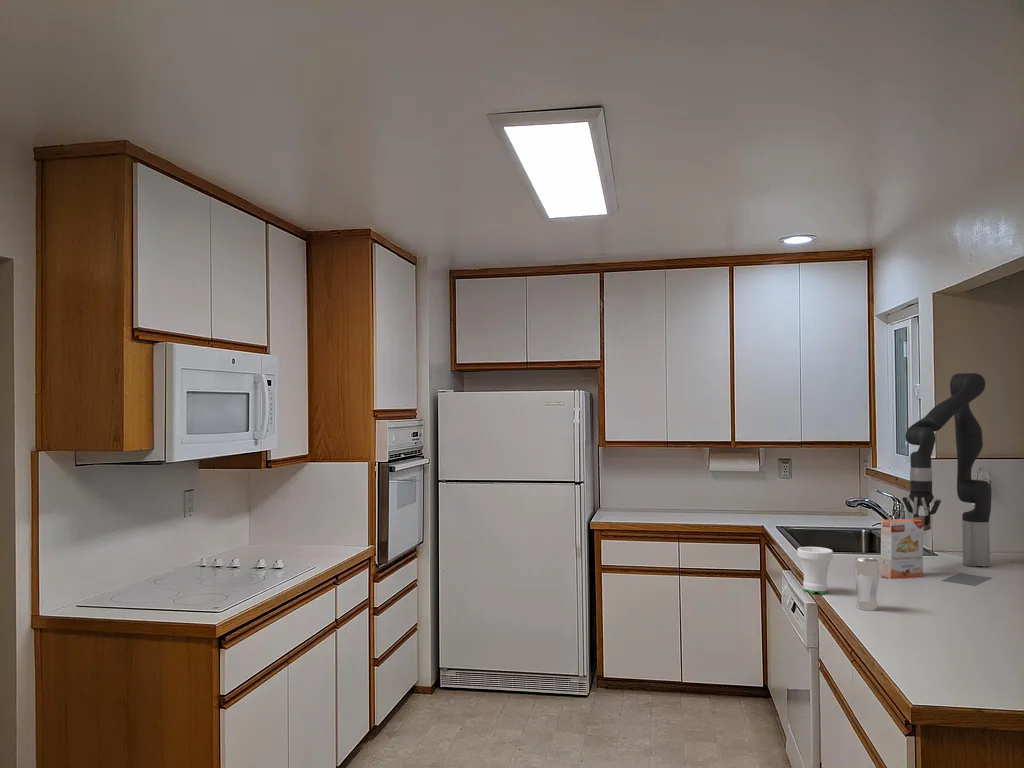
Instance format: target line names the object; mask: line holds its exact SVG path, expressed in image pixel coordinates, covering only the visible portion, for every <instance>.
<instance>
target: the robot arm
mask: <svg viewBox="0 0 1024 768" xmlns="http://www.w3.org/2000/svg"><path fill="white" fill-rule="evenodd" d="M985 388H986V380H985V377H984V376H983V375H982V374H980V373H976V372H975V373H974V372H960V373H955V374H953V375H952V376H951V379H950V382H949V389H950V397H949V398H946V399H945V400H943V401H941V402H940V403H938V404H936V405H935V406H934V407H933V408H932V409H931V410H930V411H929V412H928V413H927V414H926V415H925V416H924V417H922V418H921V419H919V420H918V421H916V422H915V423H913V424H912V425H910V426H909V427H908V428H907V430H906V431H905V436H904V438H905V441H906V442H907V443H908V444H910V445H912V446H918V449H917V450H916V451H913V452H911V453H910V470H909V489H910V492H909V495H908V496H904V497H902V501H903V504H904V506H905V508H906V510H907V512H908V513H910V514H912V515H913V517H912V519H913V518H915V517H919V516H920V514H919V510H920V508H921V507H922V508H923V511H924V516H925V525H927V526H928V525H929V524H930V516H931V517H932V515H936V513H937V512H938V509H939V507H940V505H941V503H942V500H941V499H937V498H936V497H935V496H934V494H933V471H932V455H933V452H934V451H933V450H934V448H935V445H936V433H935V432H938V431H940V430H941V429H942V428H943V427H944V426H945V425H946V424H947V423H948V422H949V421H950V419H951V418H952V417H953V418H954V426H955V427H954V429H955V447H956V461H957V463H956V464H957V466H956V467H957V471H956V473H957V475H956V494H957V497H958V500H959V501H961V502H962V503H968V504H974V508H973V509H971V510H969V511H965V512H963V513H962V516H961V517H962V518H961V519H962V520H961V522H962V526H961V528H962V565H965V566H969V567H976V566H983V567H982V568H985V567H986V566H988V567H991V561H990V559H991V557H990V555H991V553H990V551H991V549H990V548H991V547H990V539H991V538H990V516H991V512H992V487H991V485H990V483H989V482H988V481H986V480H980V479H972V470H973V469H972V468H973V466H974V463H975V461H976V460H977V459H978V456H979V455H980V454H981V451H983V446H984V441H983V439H984V438H983V430H982V427H981V425H980V422H979V421H978V420H977V418H976V417H975V414H973V412H972V410H971V408H970V407H971V406H970V403H971V402H973V400H975V399H977V398H978V397H979V396H981V394H982V393H983V392H984V390H985ZM911 502H912V503H913V505H912V504H911ZM931 503H932V504H933V505H932V507H931V505H930V504H931ZM986 568H987V567H986Z"/></svg>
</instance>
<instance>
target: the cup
mask: <svg viewBox="0 0 1024 768" xmlns="http://www.w3.org/2000/svg"><path fill="white" fill-rule="evenodd" d="M797 557H798V558H799V561H800V564H801V567H802V570H803V571H802V572H803V582H802V585H803V586H802V589H803V592H804V593H809V594H810V595H814V594H816V593H818V594H819V595H824V594H827V593H828V582H827V580H828V578H827V577H828V571H829V567H830V563H831V562H832V560H833V557H834V554H833V550H832V549H830V548H826V547H821V546H820V547H819V546H801V547H800V546H799V547H798V548H797Z"/></svg>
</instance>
